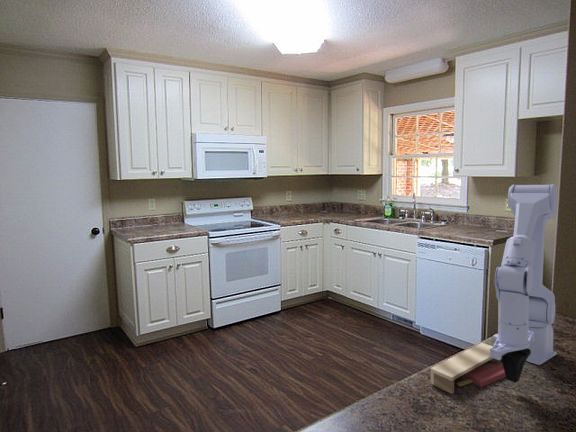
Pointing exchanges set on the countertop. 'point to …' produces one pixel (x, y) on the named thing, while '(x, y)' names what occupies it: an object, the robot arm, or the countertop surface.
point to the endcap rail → (460, 366)
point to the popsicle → (483, 375)
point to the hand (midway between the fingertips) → (512, 380)
